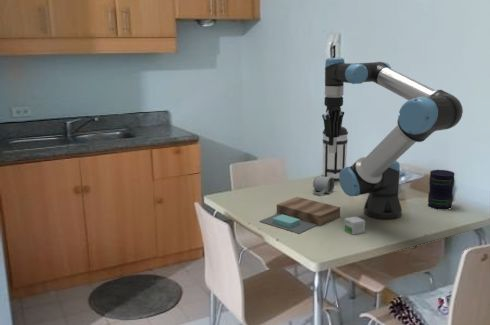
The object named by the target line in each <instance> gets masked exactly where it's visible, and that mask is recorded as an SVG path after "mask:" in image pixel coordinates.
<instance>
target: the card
mask: <svg viewBox="0 0 490 325" xmlns="http://www.w3.org/2000/svg"><path fill="white" fill-rule="evenodd" d="M273 223H275V224H278V225H281V226H284V227H288V228H292V227H295V226H297V225H299V224H300V219H297V218H293V217H290V216H286V215H283V214H282V215H279V216H277V217H274V218H273Z"/></svg>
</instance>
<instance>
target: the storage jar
mask: <svg viewBox="0 0 490 325" xmlns="http://www.w3.org/2000/svg"><path fill="white" fill-rule="evenodd" d="M428 183H429V192H428V197H427V202H428V204H427V206H428V207H429V208H430V207H431V208H430V209H433V208H434V210H438V209H448V210H450V209H449V208H451V207H452V205H453V201H454V199H453V198H454V197H453V196H454V195H453V191H454V190H453V189H454V186H455V172H453V171H450V170H447V169H433V170H430V172H429V182H428ZM451 209H452V208H451Z"/></svg>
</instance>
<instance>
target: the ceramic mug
mask: <svg viewBox="0 0 490 325" xmlns="http://www.w3.org/2000/svg"><path fill="white" fill-rule="evenodd" d="M312 187H313V189H312V192H313V194H314V195H316V196H321V195H324V194H332V193H333V191H334V189H335V179H333V178H332V177H324V176H323V175H322V176H321V175H319V176H316V177H315V178H314V179H313V182H312ZM316 191H317V192H316Z"/></svg>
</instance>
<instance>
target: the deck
mask: <svg viewBox="0 0 490 325" xmlns="http://www.w3.org/2000/svg"><path fill="white" fill-rule="evenodd" d="M278 213H279V214H283V215H286V216H290V217H293V218H297V219H300V220H303V221H307V222H311V223H314V224H318V225H317V226H319V227H322V226H323V225H325V224H327V223H330V222H331V221H333V220H335V219H338V218H340V217H341V207H340V206H336V205H333V204H328V203H324V202H320V201H316V200H313V199H308V198H304V197H299V196H295V197H292V198H290V199H288V200H285V201H281V202H280V203H277V204H276V214H278Z"/></svg>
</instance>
